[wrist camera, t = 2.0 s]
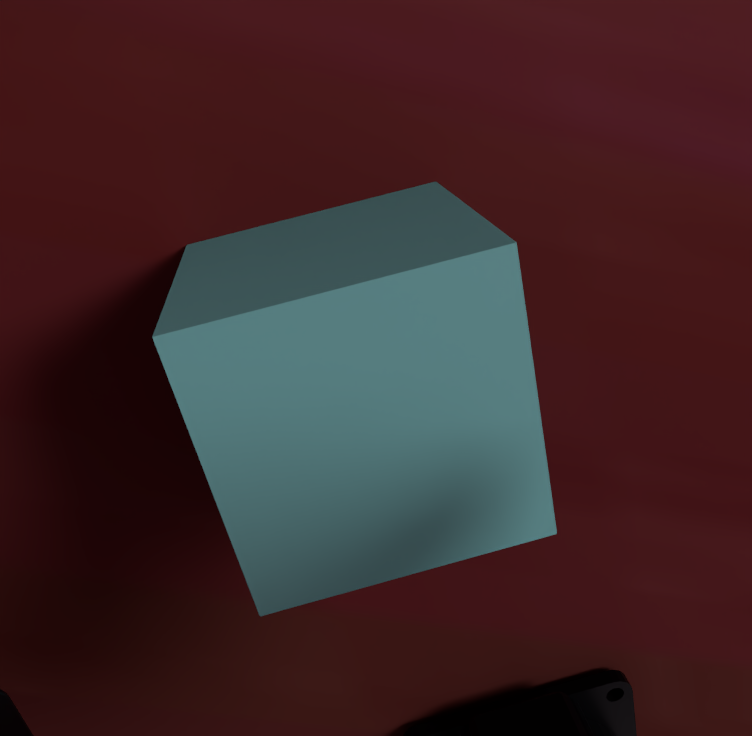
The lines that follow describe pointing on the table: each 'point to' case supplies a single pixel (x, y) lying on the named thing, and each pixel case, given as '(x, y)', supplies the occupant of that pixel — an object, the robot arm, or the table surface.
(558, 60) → the table surface
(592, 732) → the robot arm
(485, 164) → the table surface
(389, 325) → the cube
